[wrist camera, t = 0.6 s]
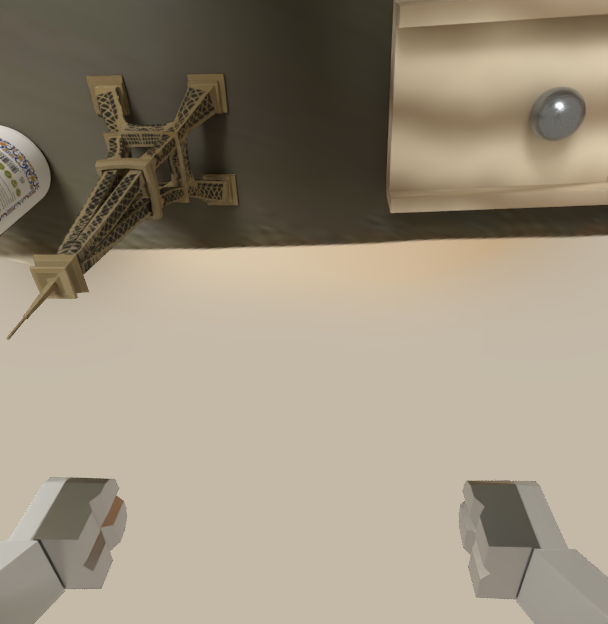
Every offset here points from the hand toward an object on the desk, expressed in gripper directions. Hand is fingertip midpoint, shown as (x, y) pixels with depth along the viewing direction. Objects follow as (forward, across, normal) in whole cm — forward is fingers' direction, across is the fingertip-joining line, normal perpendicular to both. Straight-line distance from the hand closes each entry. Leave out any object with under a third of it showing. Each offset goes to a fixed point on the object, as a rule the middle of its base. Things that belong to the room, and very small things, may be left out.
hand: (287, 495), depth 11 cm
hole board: (+33, -19, -4) cm, 38 cm away
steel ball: (+29, -17, -3) cm, 33 cm away
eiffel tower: (+34, +12, -1) cm, 36 cm away
